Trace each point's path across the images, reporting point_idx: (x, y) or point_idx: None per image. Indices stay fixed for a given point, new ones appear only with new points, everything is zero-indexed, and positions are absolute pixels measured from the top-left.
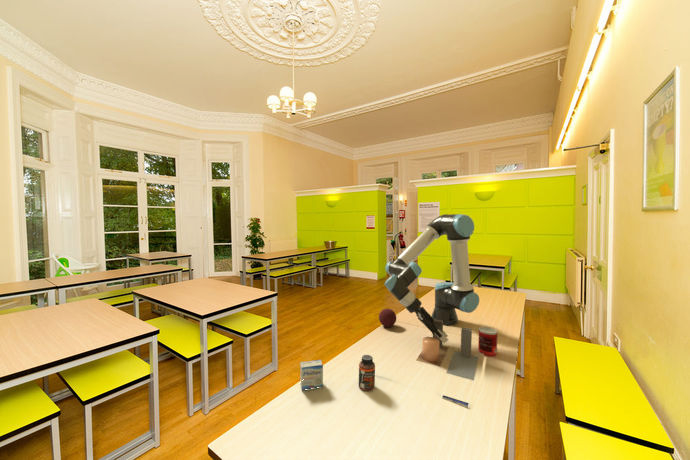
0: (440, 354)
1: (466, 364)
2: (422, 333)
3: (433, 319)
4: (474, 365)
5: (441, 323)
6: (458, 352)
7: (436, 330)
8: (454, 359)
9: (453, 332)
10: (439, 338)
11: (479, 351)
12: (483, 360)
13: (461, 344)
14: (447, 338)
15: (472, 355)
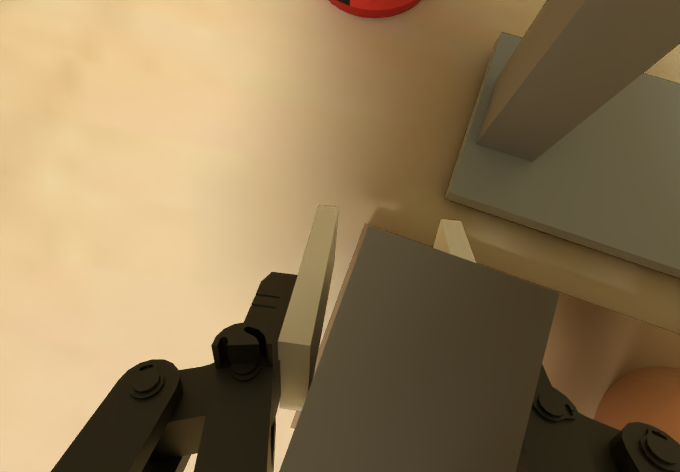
0: (560, 335)
1: (674, 147)
2: (34, 446)
3: (126, 465)
4: (666, 93)
5: (544, 301)
6: (471, 166)
7: (661, 439)
8: (618, 225)
9: (9, 128)
10: None
11: (392, 8)
12: (498, 21)
13: (605, 99)
14: (444, 227)
15: (497, 70)
